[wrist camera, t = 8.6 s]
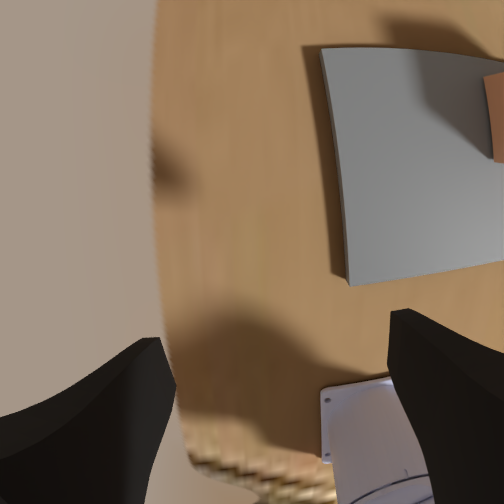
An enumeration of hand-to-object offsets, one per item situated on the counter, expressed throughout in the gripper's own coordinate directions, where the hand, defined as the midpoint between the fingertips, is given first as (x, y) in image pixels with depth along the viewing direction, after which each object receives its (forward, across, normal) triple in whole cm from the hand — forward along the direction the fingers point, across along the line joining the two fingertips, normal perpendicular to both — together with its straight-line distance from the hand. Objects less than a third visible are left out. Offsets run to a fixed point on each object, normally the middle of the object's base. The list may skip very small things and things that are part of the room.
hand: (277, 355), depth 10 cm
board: (+9, -12, -4) cm, 16 cm away
